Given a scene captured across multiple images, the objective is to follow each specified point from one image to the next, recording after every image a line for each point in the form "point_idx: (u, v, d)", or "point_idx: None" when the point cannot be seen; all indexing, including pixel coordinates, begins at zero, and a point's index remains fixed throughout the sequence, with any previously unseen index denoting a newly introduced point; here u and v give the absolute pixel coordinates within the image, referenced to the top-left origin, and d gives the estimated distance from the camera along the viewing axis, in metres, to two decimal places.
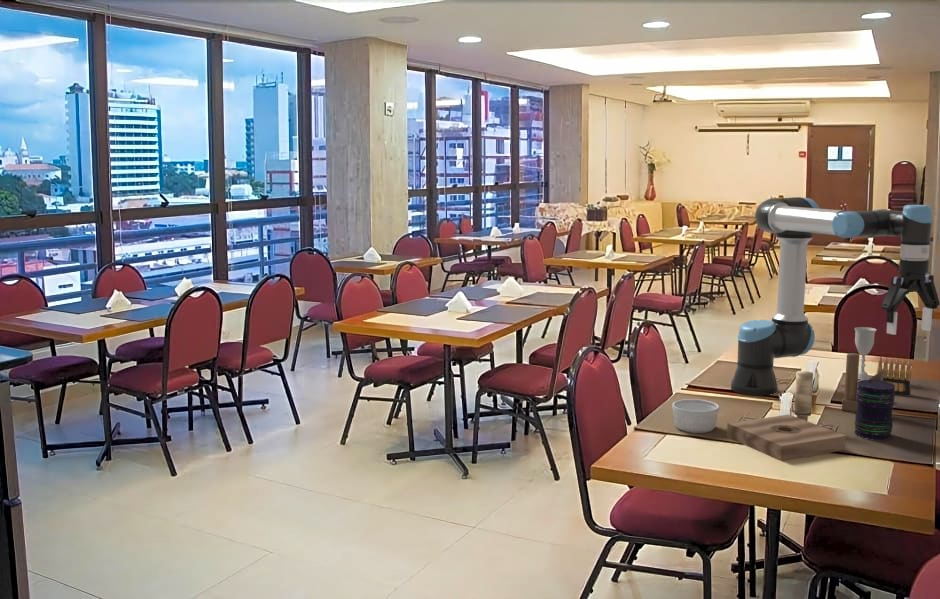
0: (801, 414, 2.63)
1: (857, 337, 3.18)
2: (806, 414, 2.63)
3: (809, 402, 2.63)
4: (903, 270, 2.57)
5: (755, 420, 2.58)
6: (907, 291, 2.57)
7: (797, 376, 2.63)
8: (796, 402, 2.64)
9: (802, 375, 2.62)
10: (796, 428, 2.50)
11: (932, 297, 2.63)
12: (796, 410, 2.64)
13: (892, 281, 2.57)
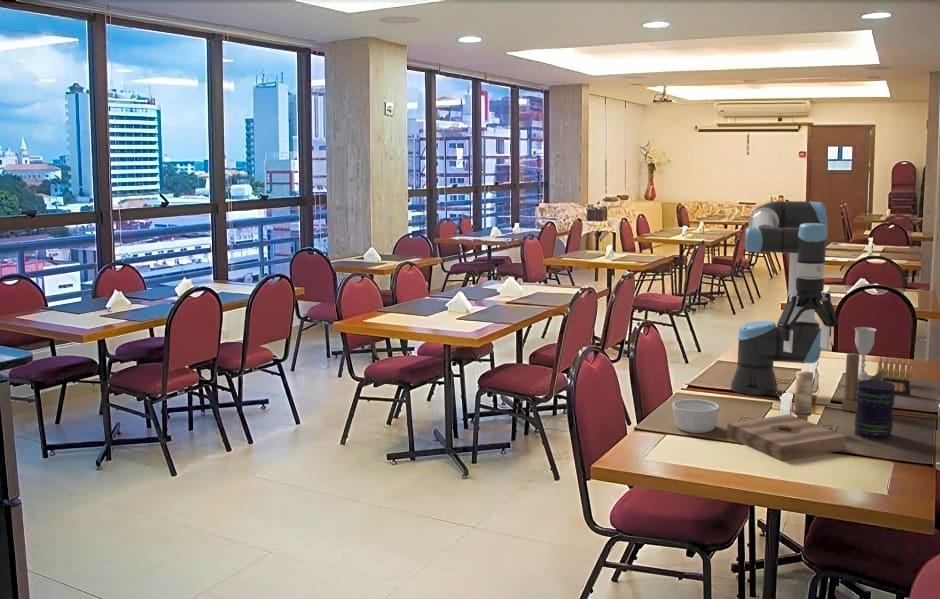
0: (801, 414, 2.63)
1: (857, 337, 3.18)
2: (806, 414, 2.63)
3: (809, 402, 2.63)
4: (799, 288, 2.58)
5: (755, 420, 2.58)
6: (802, 309, 2.58)
7: (797, 376, 2.63)
8: (796, 402, 2.64)
9: (802, 375, 2.62)
10: (796, 428, 2.50)
11: (830, 315, 2.63)
12: (796, 410, 2.64)
13: (788, 299, 2.58)
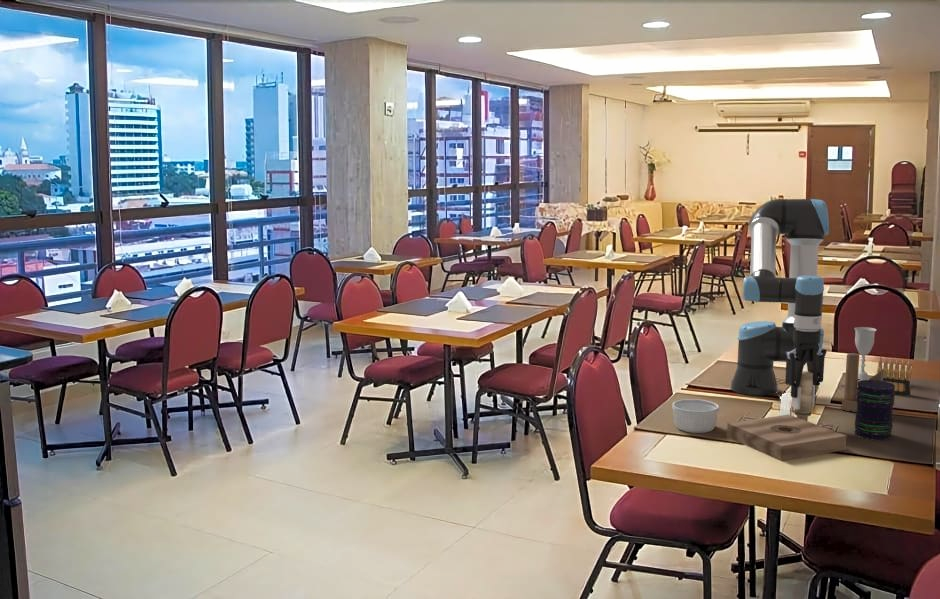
0: (801, 414, 2.63)
1: (857, 337, 3.18)
2: (806, 414, 2.63)
3: (809, 402, 2.63)
4: (796, 340, 2.61)
5: (755, 420, 2.58)
6: (800, 361, 2.60)
7: None
8: None
9: (802, 375, 2.62)
10: (796, 428, 2.50)
11: (818, 372, 2.65)
12: (796, 410, 2.64)
13: (786, 357, 2.61)
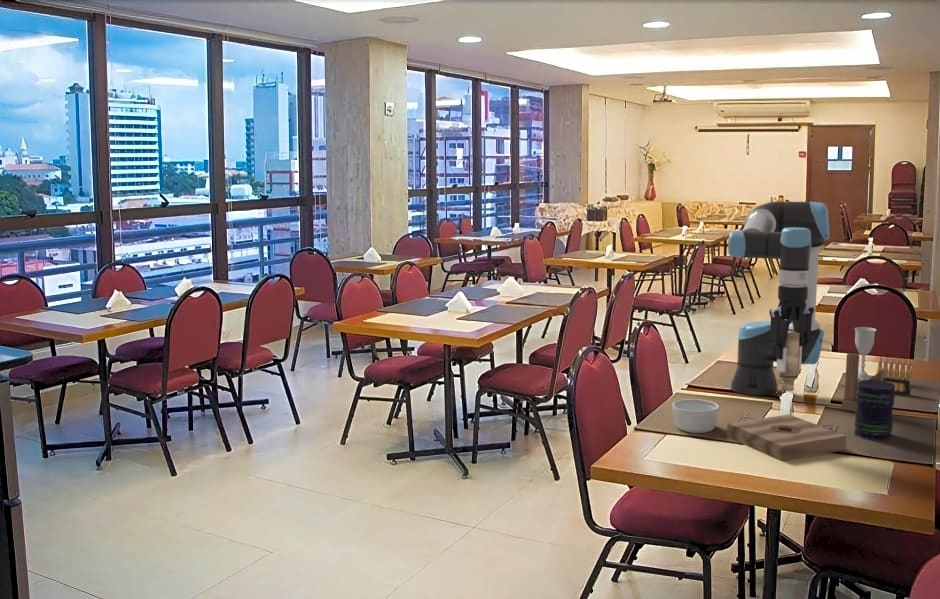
0: (787, 377, 2.45)
1: (857, 337, 3.18)
2: (792, 377, 2.44)
3: (795, 364, 2.44)
4: (781, 297, 2.42)
5: (755, 420, 2.58)
6: None
7: None
8: None
9: (788, 335, 2.43)
10: (796, 428, 2.50)
11: (805, 332, 2.46)
12: (781, 373, 2.46)
13: (771, 315, 2.42)
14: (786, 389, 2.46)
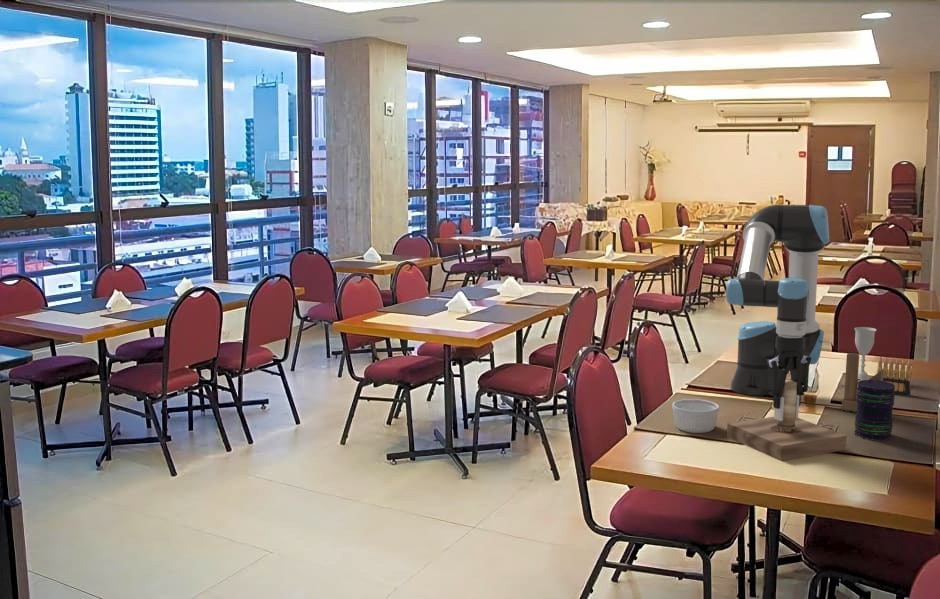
0: (784, 426, 2.47)
1: (857, 337, 3.18)
2: (789, 426, 2.47)
3: (793, 413, 2.46)
4: (778, 347, 2.44)
5: (755, 420, 2.58)
6: None
7: None
8: None
9: (785, 384, 2.45)
10: (796, 428, 2.50)
11: (802, 381, 2.49)
12: (779, 422, 2.48)
13: (768, 365, 2.45)
14: None
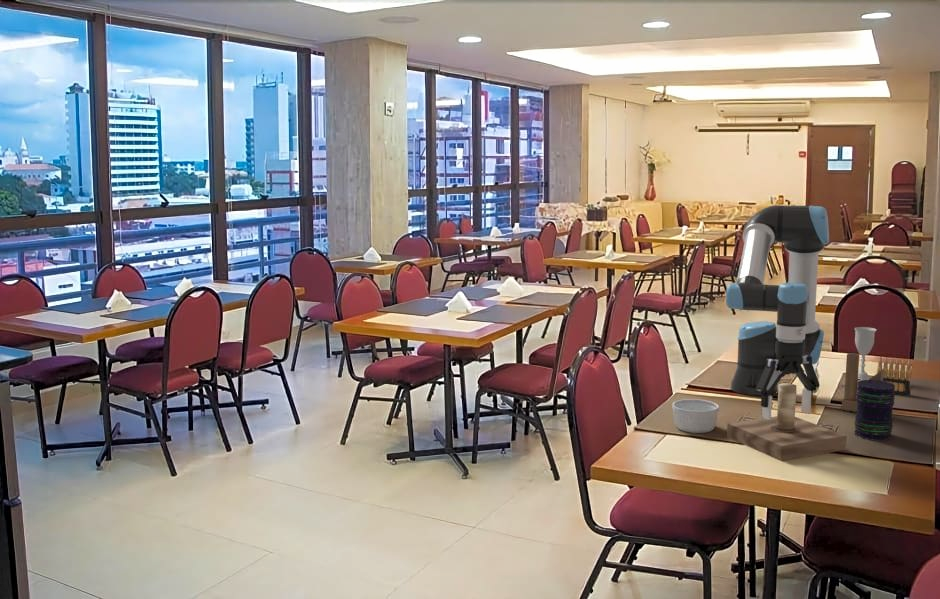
0: (784, 429, 2.47)
1: (857, 337, 3.18)
2: (789, 429, 2.47)
3: (792, 417, 2.47)
4: (778, 352, 2.45)
5: (755, 420, 2.58)
6: (782, 374, 2.44)
7: (779, 389, 2.47)
8: (778, 416, 2.48)
9: (785, 388, 2.46)
10: (796, 428, 2.50)
11: (811, 378, 2.50)
12: (778, 425, 2.48)
13: (766, 363, 2.44)
14: None
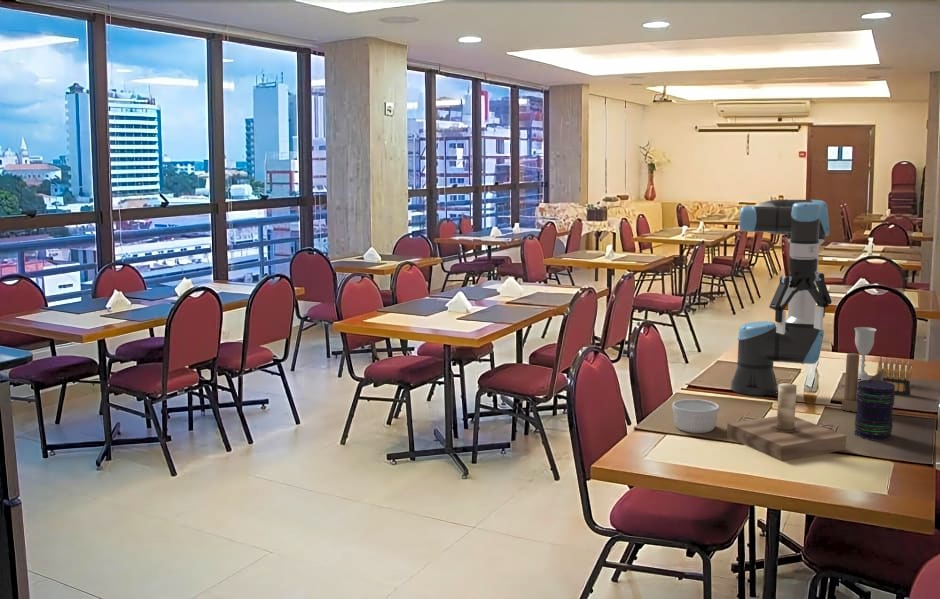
0: (784, 429, 2.47)
1: (857, 337, 3.18)
2: (789, 429, 2.47)
3: (792, 417, 2.47)
4: (792, 269, 2.54)
5: (755, 420, 2.58)
6: (795, 290, 2.54)
7: (779, 389, 2.47)
8: (778, 416, 2.48)
9: (785, 388, 2.46)
10: (796, 428, 2.50)
11: (823, 295, 2.60)
12: (778, 425, 2.48)
13: (780, 280, 2.54)
14: None
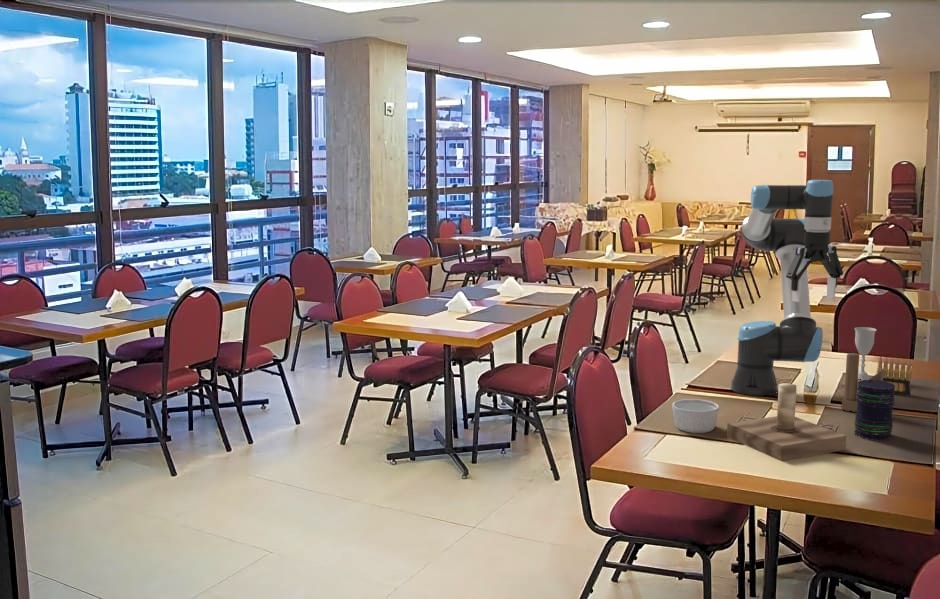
0: (784, 429, 2.47)
1: (857, 337, 3.18)
2: (789, 429, 2.47)
3: (792, 417, 2.47)
4: (807, 241, 2.73)
5: (755, 420, 2.58)
6: (810, 261, 2.73)
7: (779, 389, 2.47)
8: (778, 416, 2.48)
9: (785, 388, 2.46)
10: (796, 428, 2.50)
11: (836, 267, 2.79)
12: (778, 425, 2.48)
13: (796, 251, 2.73)
14: None
